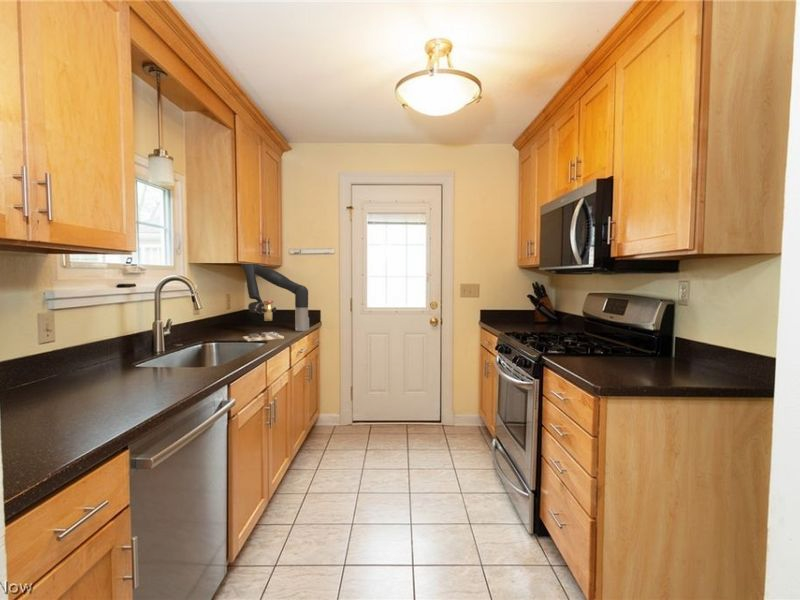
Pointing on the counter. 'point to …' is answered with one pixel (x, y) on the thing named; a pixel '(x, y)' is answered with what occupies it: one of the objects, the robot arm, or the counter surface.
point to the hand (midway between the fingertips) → (269, 310)
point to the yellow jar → (268, 310)
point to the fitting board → (263, 336)
